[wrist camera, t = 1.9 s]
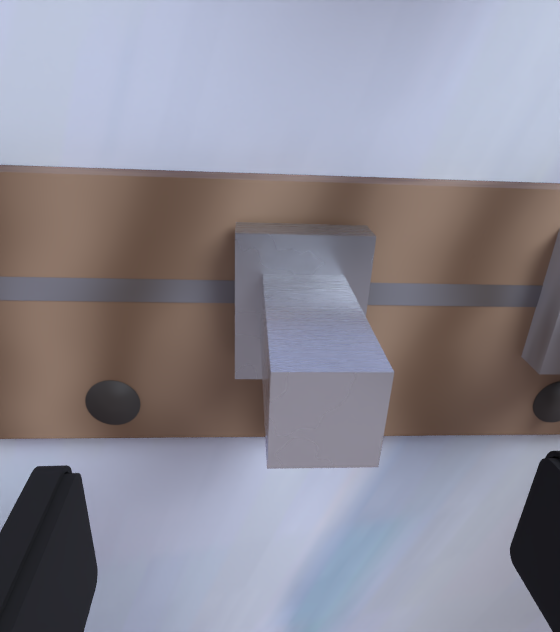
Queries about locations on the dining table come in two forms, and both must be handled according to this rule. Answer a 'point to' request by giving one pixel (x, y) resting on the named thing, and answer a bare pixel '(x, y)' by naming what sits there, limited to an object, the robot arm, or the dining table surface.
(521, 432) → the wooden board with posts
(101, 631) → the dining table surface
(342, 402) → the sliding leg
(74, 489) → the robot arm
